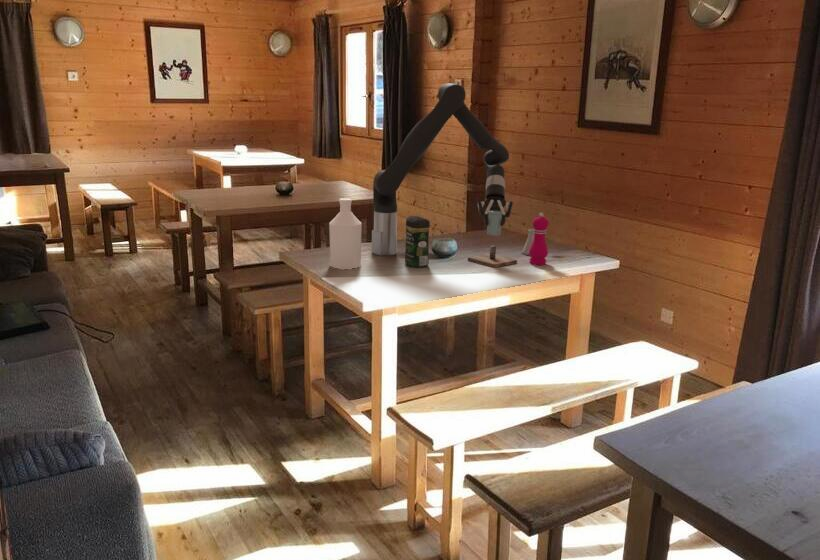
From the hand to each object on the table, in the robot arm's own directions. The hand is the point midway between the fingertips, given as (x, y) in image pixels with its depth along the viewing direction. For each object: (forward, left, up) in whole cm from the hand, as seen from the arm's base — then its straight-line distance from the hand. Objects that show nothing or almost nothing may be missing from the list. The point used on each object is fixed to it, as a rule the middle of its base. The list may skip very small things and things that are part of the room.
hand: (494, 224), depth 259 cm
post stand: (+1, +1, -15) cm, 15 cm away
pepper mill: (+14, -11, -15) cm, 23 cm away
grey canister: (+1, +1, -4) cm, 5 cm away
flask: (+25, +2, -15) cm, 30 cm away
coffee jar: (-27, +14, -15) cm, 34 cm away
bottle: (-50, +28, -15) cm, 59 cm away
